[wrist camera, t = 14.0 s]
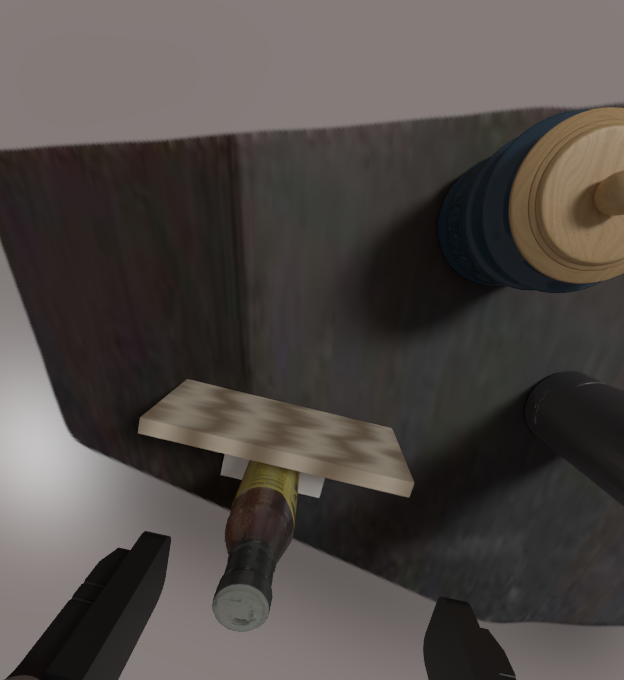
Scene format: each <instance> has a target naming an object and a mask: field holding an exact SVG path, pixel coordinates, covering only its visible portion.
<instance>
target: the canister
mask: <svg viewBox="0 0 624 680" xmlns="http://www.w3.org/2000/svg"><path fill="white" fill-rule="evenodd" d="M437 235H438V242H439V246H440V249H441V251H442V253H443V255H444V257H445V259H446V260H447V262H448V263H449V264H450V266H451V267H452V268H453V269H454V270H455V271H457V272H458V273H459V274H460V275H462V276H463V277H465V278H467V279H468V280H470V281H473V282H475V283H478V284H482V285H488V286H509V287H512V288H516V289H521V290H537V291H541V292H548V293H567V292H573V291H578V290H582V289H585V288H588V287H591V286H594V285H596V284H598V283H600V282H602V281H604V280H607V279H610V278H613V277H616V276H618V275H620V274H622V273H624V108H614V107H611V108H598V109H593V110H591V109H582V110H572V111H567V112H563V113H559V114H556V115H553V116H550V117H548V118H546V119H544V120H542V121H540V122H538V123H536V124H535V125H533V126H532V127H530V128H529V129H527V130H526V131H525V132H523V133H522V134H521V135H520V136H519V137H517V138H515V139H513V140H512V141H510V142H508V143H507V144H505V145H504V146H503V147H501V148H500V149H499V150H498V151H497V152H496V153H495V154H493V155H492V156H491V157H489V158H486V159H484V160H482V161H481V162H479V163H477V164H476V165H474V166H473V167H471V168H470V169H469V170H467V171H466V172H465V173H464V174H463V175H462V176H461V177H460V178H459V179H458V180H457V181H456V182H455V183H454V185H453V186H452V187H451V189H450V191H449V192H448V194H447V196H446V198H445V199H444V202H443V204H442V206H441V209H440V212H439V217H438V223H437Z"/></svg>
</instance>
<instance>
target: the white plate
mask: <svg viewBox="0 0 624 680" xmlns="http://www.w3.org/2000/svg"><path fill="white" fill-rule="evenodd" d="M249 461H250V460H249V459H244V458H240V457H236V456H232V455H228V454H225V455H224V460H223V465H222V470H221V474H220V475H224V476H228V477H232V478H236V479H240V480H242V479H243V476H244V473H245V471H246V468H247V466H248V463H249ZM324 479H325V478H324V477H320V476H316V475H312V474H308V473H303V472H300V474H299V484H298V493H300V494H304V495H308V496H312V497H317V498H319V497H320V493H321V490H322V486H323V483H324Z"/></svg>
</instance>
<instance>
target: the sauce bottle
mask: <svg viewBox="0 0 624 680" xmlns="http://www.w3.org/2000/svg"><path fill="white" fill-rule="evenodd" d="M299 474H300V472H299V471H295V470H291V469H287V468H282V467H278V466H274V465H270V464H265V463H261V462H257V461H253V460H250V461H249V463H248V466H247V468H246V471H245V473H244V476H243V479H242V481H241V484H240V487H239V489H238V492H237V494H236V497H235V500H234V502H233V505H232V508H231V513H230V516H229V518H228V521H227V524H226V529H225V542H226V547H227V550H228V554H229V557H228V564H227V567H226V570H225V573H224V575H223V576H222V578H221V580H220V582H219V585H218V587H217V590H216V593H215V595H214V599H213V605H212V607H213V612H214V614H215V617H216V619H217V620H218V622H219V623H220V624H222V625H223V626H224V627H226V628H228V629H230V630H233V631H238V632H244V631H250V630H253V629H255V628H258V627H260V626H261V625H262V624H263V623H264V622H265V621H266V619H267V618H268V614H269V611H270V606H271V601H272V589H271V585H272V577H273V573H274V571H275V568H276V564H277V562H278V561H279V559H280V558H281V556H282V555H283V553H284V552H285V550H286V549H287V547H288V545H289V544H290V542H291V540H292V537H293V533H294V526H295V514H296V505H297V494H298V484H299Z"/></svg>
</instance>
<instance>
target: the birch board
mask: <svg viewBox="0 0 624 680" xmlns="http://www.w3.org/2000/svg"><path fill="white" fill-rule="evenodd" d="M138 433H139V434H143V435H148V436H152V437H156V438H160V439H164V440H169V441H173V442H177V443H181V444H185V445H190V446H194V447H198V448H202V449H207V450H211V451H215V452H219V453H223V454H228V455H232V456H236V457H240V458H244V459H249V460H253V461H257V462H261V463H265V464H270V465H274V466H278V467H282V468H287V469H291V470H295V471H299V472H303V473H308V474H312V475H316V476H320V477H324V478H329V479H333V480H337V481H341V482H345V483H350V484H354V485H358V486H362V487H367V488H371V489H375V490H379V491H383V492H388V493H392V494H396V495H400V496H404V497H410V495H411V492H412V489H413V486H414V481H413V478H412V476H411V473H410V471H409V469H408V466H407V464H406V461H405V459H404V456H403V454H402V452H401V449H400V447H399V444H398V442H397V440H396V437H395V435H394V432H393V430H392V428H388V427H384V426H380V425H376V424H372V423H368V422H363V421H359V420H355V419H351V418H347V417H343V416H338V415H334V414H330V413H326V412H322V411H318V410H313V409H309V408H305V407H301V406H297V405H293V404H289V403H284V402H280V401H276V400H272V399H268V398H264V397H259V396H255V395H251V394H247V393H243V392H239V391H234V390H230V389H226V388H222V387H218V386H214V385H209V384H205V383H201V382H197V381H193V380H189V379H187V380H185V381H184V382H183V383H182V384H181V385H179V386H178V387H177V388H176V389H174V390H173V391H172V392H171V393H169V394H168V395H167V396H166V397H165V398H163V399H162V400H161V401H160V402H158V403H157V404H156V405H155V406H154V407H152V408H151V409H150V410H149V411H147V412H146V413H145V414H144V415H143V416H141V417H140V421H139V428H138Z"/></svg>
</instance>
